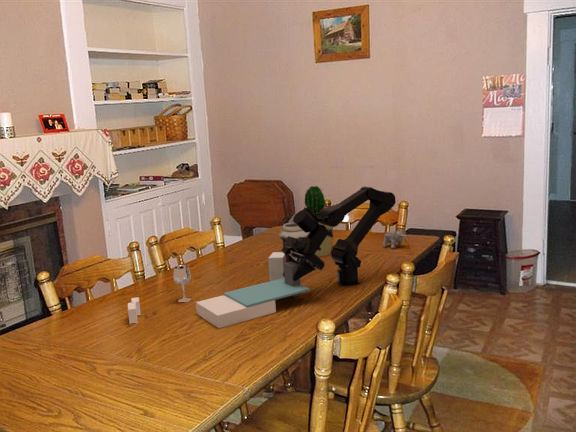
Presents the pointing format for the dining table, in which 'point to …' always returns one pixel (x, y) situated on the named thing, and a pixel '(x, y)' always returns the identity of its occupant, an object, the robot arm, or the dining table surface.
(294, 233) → the apothecary jar
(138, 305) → the napkin holder
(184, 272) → the wineglass
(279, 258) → the small box
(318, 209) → the potted cactus
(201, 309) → the carton
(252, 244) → the dining table surface
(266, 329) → the dining table surface
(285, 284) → the lid
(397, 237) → the gray elephant figurine
